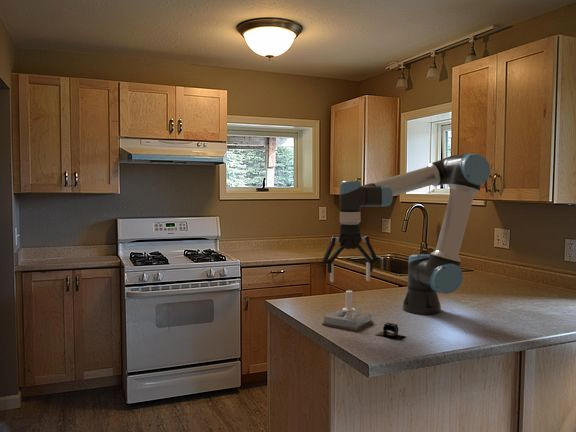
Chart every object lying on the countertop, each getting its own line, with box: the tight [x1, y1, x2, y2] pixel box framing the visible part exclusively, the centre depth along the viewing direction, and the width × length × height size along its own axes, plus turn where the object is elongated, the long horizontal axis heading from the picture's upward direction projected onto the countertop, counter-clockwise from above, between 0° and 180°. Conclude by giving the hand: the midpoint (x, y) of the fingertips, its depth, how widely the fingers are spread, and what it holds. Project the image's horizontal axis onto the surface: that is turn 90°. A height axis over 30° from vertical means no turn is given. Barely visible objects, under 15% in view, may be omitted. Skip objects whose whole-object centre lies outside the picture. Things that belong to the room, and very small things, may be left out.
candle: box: [342, 289, 356, 319], centre depth 183 cm, size 5×5×12 cm
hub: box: [321, 308, 374, 332], centre depth 183 cm, size 14×14×3 cm
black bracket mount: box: [374, 322, 407, 342], centre depth 169 cm, size 12×7×5 cm, turn 54°
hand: (350, 281), depth 182 cm, fingers open, 13 cm apart
